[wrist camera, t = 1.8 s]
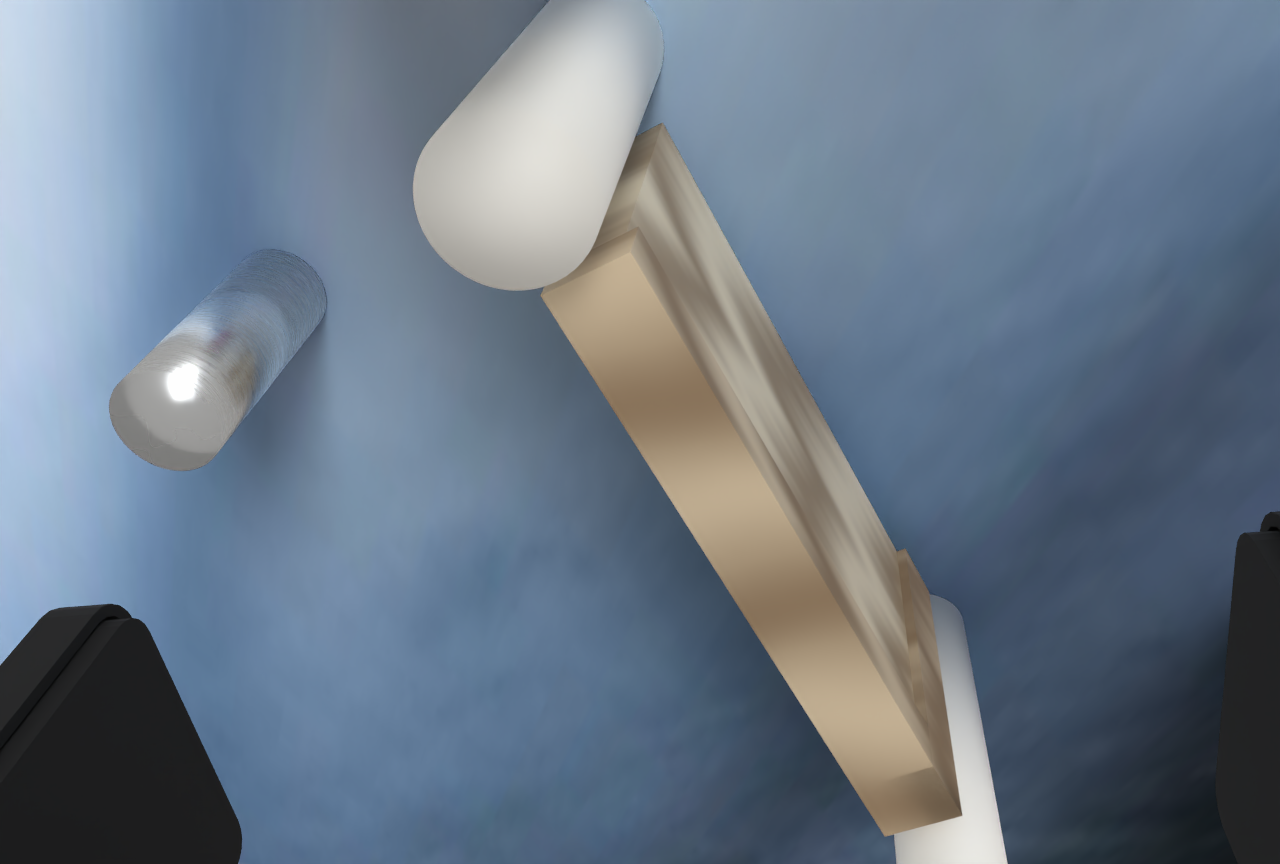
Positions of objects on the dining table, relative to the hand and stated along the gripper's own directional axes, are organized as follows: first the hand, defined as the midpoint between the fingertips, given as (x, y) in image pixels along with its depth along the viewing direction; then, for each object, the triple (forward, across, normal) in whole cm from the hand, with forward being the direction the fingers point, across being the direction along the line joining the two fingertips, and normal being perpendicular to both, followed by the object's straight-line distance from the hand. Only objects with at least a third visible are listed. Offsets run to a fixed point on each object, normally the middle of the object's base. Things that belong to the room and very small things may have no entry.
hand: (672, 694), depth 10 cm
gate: (+24, 0, +10) cm, 26 cm away
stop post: (+26, +16, +5) cm, 30 cm away
